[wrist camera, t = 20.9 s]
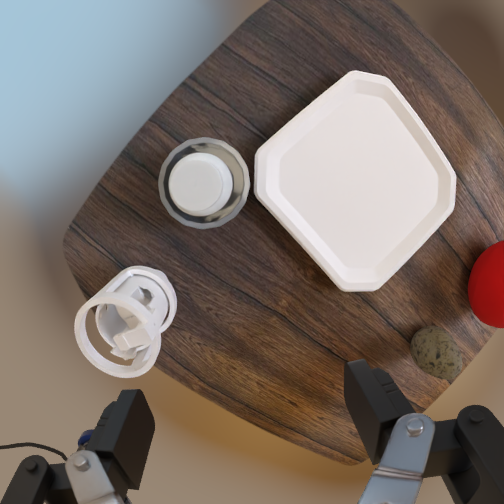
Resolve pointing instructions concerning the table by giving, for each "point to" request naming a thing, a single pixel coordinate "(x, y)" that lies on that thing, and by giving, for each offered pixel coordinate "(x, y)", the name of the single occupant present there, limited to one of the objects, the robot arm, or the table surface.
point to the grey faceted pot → (236, 168)
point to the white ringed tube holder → (129, 319)
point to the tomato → (488, 286)
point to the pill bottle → (200, 184)
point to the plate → (356, 181)
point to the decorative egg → (436, 352)
